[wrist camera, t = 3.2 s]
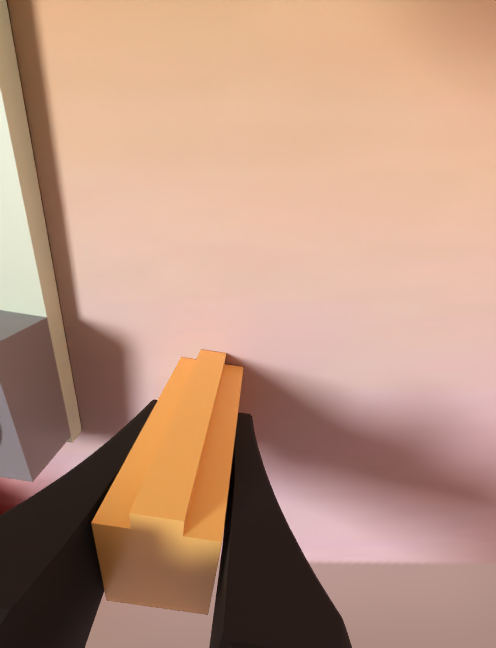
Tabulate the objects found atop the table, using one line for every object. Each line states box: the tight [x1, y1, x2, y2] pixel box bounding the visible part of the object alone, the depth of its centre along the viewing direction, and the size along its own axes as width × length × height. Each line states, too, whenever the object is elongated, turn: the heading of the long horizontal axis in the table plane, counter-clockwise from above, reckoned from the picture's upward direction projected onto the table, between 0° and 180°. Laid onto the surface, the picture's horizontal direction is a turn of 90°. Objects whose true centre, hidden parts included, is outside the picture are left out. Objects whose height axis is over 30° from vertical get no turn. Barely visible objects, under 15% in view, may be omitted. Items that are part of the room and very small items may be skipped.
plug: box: [91, 350, 244, 615], centre depth 10 cm, size 5×3×7 cm, turn 171°
